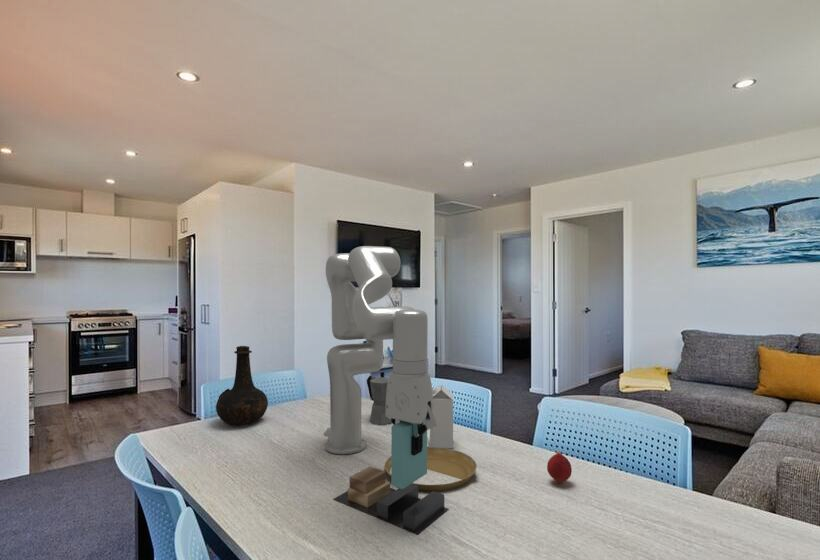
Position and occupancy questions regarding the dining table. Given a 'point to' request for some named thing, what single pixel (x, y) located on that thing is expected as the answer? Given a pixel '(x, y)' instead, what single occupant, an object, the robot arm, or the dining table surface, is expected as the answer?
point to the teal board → (406, 456)
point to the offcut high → (367, 479)
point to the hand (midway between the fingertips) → (409, 450)
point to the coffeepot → (378, 399)
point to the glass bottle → (242, 395)
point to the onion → (559, 467)
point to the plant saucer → (445, 467)
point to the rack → (403, 508)
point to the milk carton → (442, 418)
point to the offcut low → (369, 495)
